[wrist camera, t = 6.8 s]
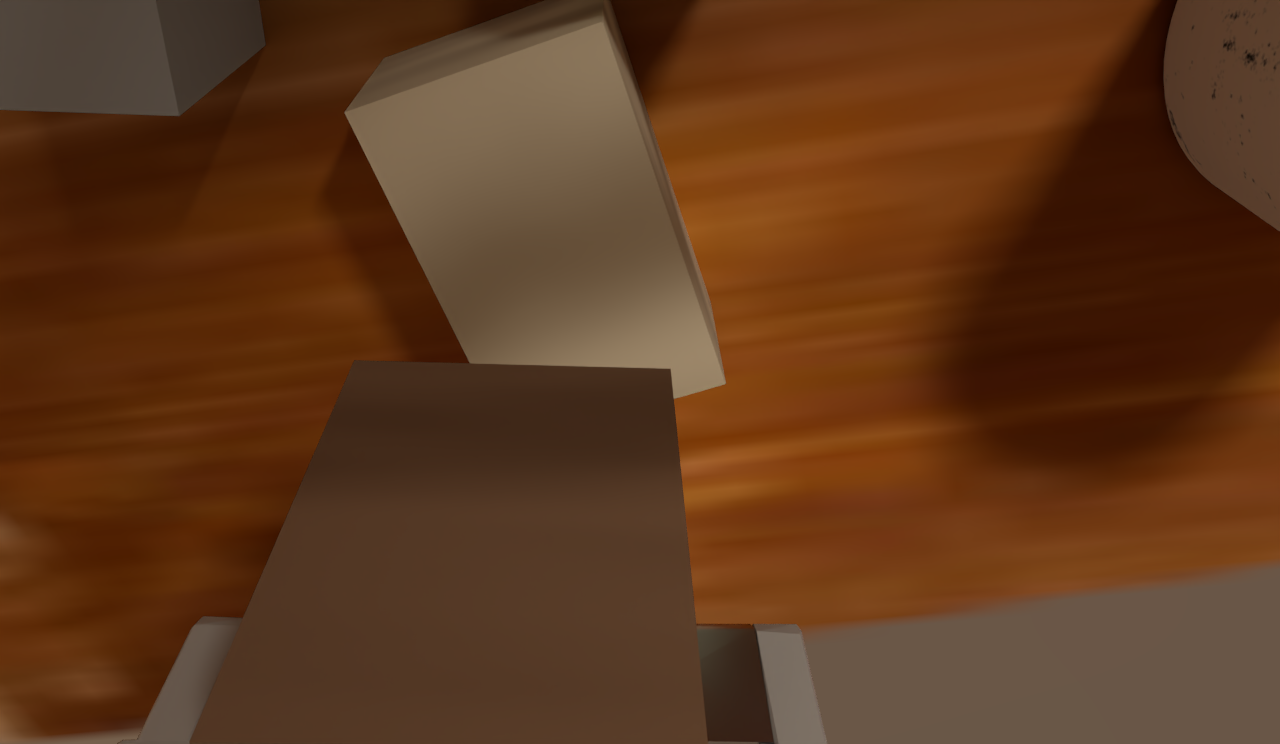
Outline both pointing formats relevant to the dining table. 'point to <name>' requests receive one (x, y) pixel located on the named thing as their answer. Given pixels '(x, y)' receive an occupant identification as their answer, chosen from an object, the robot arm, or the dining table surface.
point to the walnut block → (476, 569)
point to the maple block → (540, 195)
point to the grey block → (121, 53)
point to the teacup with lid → (1228, 96)
